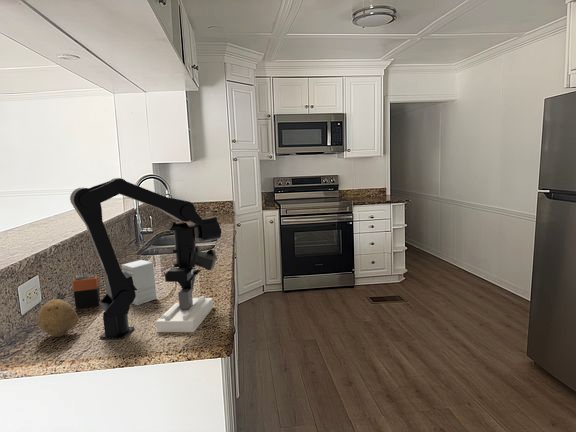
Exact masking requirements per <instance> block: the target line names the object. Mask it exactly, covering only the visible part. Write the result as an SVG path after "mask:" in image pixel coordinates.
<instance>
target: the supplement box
mask: <svg viewBox="0 0 576 432" xmlns="http://www.w3.org/2000/svg"><path fill="white" fill-rule="evenodd" d="M121 271H122V272H123V273H125V272H127V273H128V274H130V275H131V276H132V279H133V284H134V286H135V288H136V289H137V290H134V291H135V294H136V298H135V299H134V301H133V302H132V304H131V305H134V306H140V305H142V304H143V305H144V303H146V304H147V303H148V302H151V301H153V300H157V297H158V296H157V289H156V280H155V269H154V262H152V261H150V260H149V261H148V260H143V259H138V260H135V261H131V262H127V263H124V264H121Z"/></svg>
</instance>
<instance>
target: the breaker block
mask: <svg viewBox="0 0 576 432" xmlns="http://www.w3.org/2000/svg"><path fill="white" fill-rule="evenodd" d="M192 300H193V306H192V307H191V308H190V309H180V306H179V299H178V300H177V301H176V302H175V303H174V304H173V305H172V306H171V307H170V308H169V309H168V310H167V311H166V312H165V313H163V314H162V315H161V316H160V317H159V318H158V319H157V320H156V321H155V325H156V333H194V332H196V329H198V328H199V326H200V325H201V323H202V322H203V321H204V319H206V317H207V316H208V315H209V313H210V312H211V311H212V310H213V308H214V301H213V297H206V295H201V296H200V297H192Z"/></svg>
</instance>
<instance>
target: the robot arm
mask: <svg viewBox="0 0 576 432" xmlns="http://www.w3.org/2000/svg"><path fill="white" fill-rule="evenodd" d="M119 195H121V196H123V197H126V198H129V199H132V200H134V201H137V202H139V203H142V204H145V205H148V206H151V207H153V208H156V209H158V210H160V211H161V212H162V213H164V214H165V215H168V216H169V217H171V218H172V219H174V220H178V221H181V222H179V223H178V222H177V223H176V222H175V221H170V223H169V224H168V225H167V226H166V227H165V229H166V230H167V231H169V232H173V236H174V237H173V238H174V246H175V247H174V248H173V249H172V253H173V254H175V259H176V261H175V262H174V264H173V267H172V268H170V269H169V270H168V271H167V272H166V273H164V281H165V282H167V283H174V282H176V283H178V284H179V286H180V287H181V290H182V289H192V293H193V291H194V286H195V281H196V277H197V276H198V275H199V274H200V273H201V272H202V270H201V269H197V267H200V268H202V269H205V270H207V271H212V269H214V268H215V265H216V262H217V260H218V257H217V256H218V255H216V251H215V250H214V249H213V248H210V249H208V250H207V251H201V250H200V247H199V246H198V245H196V239H197V240H198V241H199V242H207V241H215V240H219V239H221V236H222V227H221V225H220V223H219V221H218V217H217V216H209V217H206V218H202V217H201V216H200V215H199V213H197V210H196V207H195V204H194V203H192V202H191V201H187V200H182V199H180V198H179V199H178V198H173V197H168V196H165V195H162V194H160V193H157V192H155V191H151V190H149V189H147V188H144V187H142V186H140V185H137V184H134V183H131V182H129V181H127V180H126V179H124V178H122V177H115V178H112V179H110V180H108V181H106V182H103V183H100V184H95V185H94V186H91V187H84V186H83V187H78V188H75V190H73V191H72V192H71V194H70V197H69V200H70V204H71V205H72V207H73V208H74V210H75V212H76V213H77V214H78V216H79V218H80V219H81V221H82V222H83V223H84V225H85V226H86V230H87V232H88V234H89V237H90V239H91V243H92V244H93V247H94V250H95V252H96V255H97V257H98V260H99V262H100V264H101V267H102V270H103V272H104V281H105V288H106V294H104V296H103V297H102V299H100V302H99V306H100V307H101V309H102V310H103V313H102V314H103V315H102V320H103V321H102V322H103V326H104V327H103V328H104V332H103V333H102V334H101V335H100V336H99V339H125V337H127V336H128V335H129V334H130V333H131V332H132V331H134V330H135V326H129V325H130V324H129V315H128V314H129V312H130V308H131V305H133V304H132V302H133V301H134V299H135V298H136V294H135V291H134V290H137V289H136V288H135V286H134V284H133V279H132V276H131V275H130V274H128V273H127V272H125V273H123V272H122V268H121V266H120V263H119V261H118V258H117V255H116V254H115V251H114V248H113V245H112V243H111V239H110V238H109V235H108V231H107V229H106V227H105V224H104V220H103V209H102V208H103V207H102V204H101V203H103V202H106V201H109V200H110V199H112V198H114V197H116V196H119ZM187 222H188V223H191V224H188V223H187Z"/></svg>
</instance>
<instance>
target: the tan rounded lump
mask: <svg viewBox="0 0 576 432" xmlns="http://www.w3.org/2000/svg"><path fill="white" fill-rule="evenodd" d="M36 319H37V320H36V322H37V323H36V324H37V325H38V327H39V328H40V329H41V330H42V331H44V332H45V333H47V334H48V335H50V336H52V337H56V338H58V337H62V336H64V335H66V334H67V333H68V332H69V331H70V330H72V329H73V328H74V327H76V325H77V324H78V322H79V315H78V314H77V312H76V310H74V308H73V306H72V305H71V304H70V303H69V302H67V301H65V300H64V299H60V298H56V299H55V298H53V299H51V300H49V301H48V302H46V303H45V304H44V305H42V307H41V308H40V310H39V312H38V314H37V318H36Z"/></svg>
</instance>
